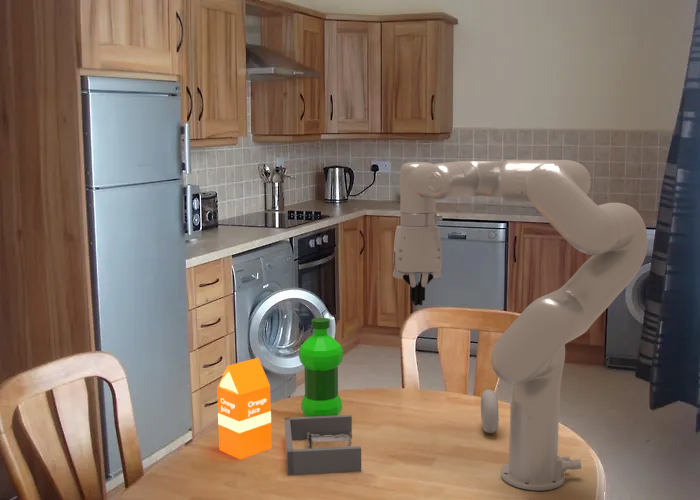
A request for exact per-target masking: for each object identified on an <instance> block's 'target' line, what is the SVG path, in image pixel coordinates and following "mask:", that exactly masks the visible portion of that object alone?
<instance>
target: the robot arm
mask: <svg viewBox="0 0 700 500" xmlns="http://www.w3.org/2000/svg"><path fill="white" fill-rule="evenodd" d="M591 179H592V178H591V175H590V173H589V170H588V169H587V168H586V166H584V165H583V164H581V163H579V162H578V161H574V160H571V159H570V160H569V159H506V160H497V161H496V160H492V161H491V160H487V161H486V160H462V161H449V162H439V163H431V162H428V161H426V162H425V161H424V162H423V161H415V162H414V161H412V162H411V161H409V162H405V163H403V164H401V167H400V180H399V181H400V186H399V187H400V194H399V195H400V197H399V198H400V203H399V204H400V209H399V211H400V218H399V219H400V223H399V224H400V225H396V228H395V233H394V239H393V242H394V243H393V254H392V255H393V257H392V258H393V259H392V265H393V272H392V277H394V278H395V279H399V280H403V281H405V282H406V283H407V285H409V300H410V302H412V304H413V306H423V301H426V287H427V285H428V284H429V283H430V282H431V281H432V280H433V279H438V278H441V277H443V271H442V270H443V269H442V267H443V253H442V251H443V250H442V239H441V234H440V229H439V225H437V223H438V222H439V221H443V214H438V213H437V210H436V209H437V207H436V206H437V205H436V204H437V203H436V202H437V201H436V200H439V201H443V200H445V201H446V200H452V199H455V198H456V199H458V198H464V197H465V198H466V197H490V198H491V197H492V198H493V197H494V198H501V199H502V200H503V201H504V203H507V204H515V205H517V204H520V205H533V207H534V208H535V209H536V210H537V211H538V213H540V214H541V215H542V217H544V219H545V220H546V221H547V222H548V223H549V224H550V225H551V226H552V227H553V228H554V229H555V230H556V231H557V232H558V233H559V234H560V235H561V236H562V237H563V238H564V239H565V241H566V242H567V243H568V244H569V245H571V246H572V247H573V248H574V249H576V250H578V251H579V252H580V253H583V254H585V255H589V256H590V257H589V258H588V259H587V260H586V261H585V262H583V264H581V266H579V268H578V269H577V270H576V271H575V273H574V274H573V275H572V276H571V277H569V279H568V280H567V281H566V283H564V284H563V285H562V286H561V287H560V288H558V289H556V290H553V291H552V292H550V293H548V294H545V295H543V296H541V297H538V298H537V299H535V300H534V301H532V302H531V303H530V304H528V305H527V307H526V308H525V309H523V311H522V312H521V313H520V314H519V315H518V317H516V319H515V320H514V321H513V322H512V323H511V325H510V326H509V327H508V328H507V329H506V330H505V331H504V332H503V333H502V334H501V336H499V338H498V339H497V341H496V342H495V344H494V345H493V347H492V351H491V356H490V361H491V363H490V364H491V366H492V369H493V373H495V375H496V376H497V377H498V379H500V380H501V381H503V382H504V383H507V384H510V385H511V390H510V402H509V404H510V407H509V409H510V412H509V444H508V445H509V449H508V450H509V453H508V462H507V463H505V464H503V465H502V466H501V469H500V476H501V478H502V480H504V482H505V483H507V484H509V485H511V486H512V487H514V488H515V487H516V488H519V489H523V490H527V491H537V492H538V491H550V490H554V489H557V488H559V487H561V486H562V485H563V484H564V483H565V477H566V475H565V472H566V471H567V470H573V471H574V470H581V469H582V462H581V460H580V459H571V456H570V455H569V456H568V455H567V456H559V454H558V449H559V447H558V446H559V427H560V426H559V425H560V424H559V420H560V418H559V417H560V403H561V402H560V401H561V399H560V398H561V397H560V396H561V387H562V386H561V385H562V376H563V373H564V372H563V370H564V367H565V366H564V365H565V361H566V345H567V344H569V342H572V341H574V340H575V339H577V338H579V337H581V336H582V335H583V334H585V333H586V332H587V331H588V330H589V329H590V327H592V326H593V324H594V322H595V321H596V320H597V319H599V317H600V316H601V315H602V314H603V313H604V312H605V311H606V309H608V307H610V306H611V304H612V303H613V302H614V300H616V298H618V296H619V295H620V294H621V293H623V292H622V291H624V290H625V288H627V286H628V285H630V283H631V282H632V280H633V279H634V278H635V277H636V275H637V274H638V272H639V271H640V268H642V266H643V263H644V261H645V259H646V255H647V252H648V251H647V250H648V244H649V242H648V240H649V239H648V232H647V227H646V225H645V221H644V220H643V218H642V216H641V214H640V213H639V212H638V210H636V209H635V208H634V207H632V206H630V205H629V204H626V203H623V202H607V203H603V204H597V203H595V201H593V199H591V197H589V196H588V193H589V192H590V189H591V185H592V183H591V182H592V180H591ZM416 274H420V275H419V279H418V280H419V281H418V282H417V283H416Z"/></svg>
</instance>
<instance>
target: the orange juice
mask: <svg viewBox="0 0 700 500" xmlns="http://www.w3.org/2000/svg"><path fill="white" fill-rule="evenodd" d="M269 382H270V381H269V380H268V377H267V375H266V372H265V370H264V368H263V365H262V363H261V360H260V358H259V357H256V358H252V359H249V360H244V361H240V362H236V363H233V364H230V365H226V369H225V371H224V373H223V375H222V377H221V379H220V382H219V384H218V386H217V387H216V389H217V412H218V413H217V420H218V421H217V422H218V423H217V424H218V439H219V442H218V447H219V451H220V452H223V453H225V454H227V455H230V456H232V457H233V458H236V459H238V460H243V459H246V458H249V457H251V456H254V455H256V454H260V453H261V452H265V451H268V450H270V449H272V411H271V409H272V408H271V385H270V383H269Z"/></svg>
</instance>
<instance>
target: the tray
mask: <svg viewBox="0 0 700 500" xmlns="http://www.w3.org/2000/svg"><path fill="white" fill-rule="evenodd" d="M352 423H353V422H352V415H351V414H343V415H342V414H339V415H336V416H314V417H306V416H297V417H296V416H294V417H284V441H285V443H284V445H285V457H286V471H287V472H286V473H287V476H295V475H301V476H302V475H317V474H335V473H337V474H338V473H352V472H353V473H355V472H357V473H358V472H362V446H361V445H355V446H349V447H348V446H339V447H338V446H337V447H334V446H333V447H317V448H316V447H315V448H314V447H313V448H312V449H309V448H297V449H295V448H293V441H308V440H309V439H308V438H307V437H308V435H307V433H308V432H309V433H310V434H311V433H312V434H313V435H314V434H318V435H320V436H324V435H333V436H336V435H340V434H344V435H348V436H350V431H351V439H352V438H353V436H352V435H353V434H352V433H353V432H352V430H353V427H352V426H353V425H352Z"/></svg>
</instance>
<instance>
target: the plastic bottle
mask: <svg viewBox="0 0 700 500" xmlns="http://www.w3.org/2000/svg"><path fill="white" fill-rule="evenodd" d="M330 322H331V321H330V319H329V318H328V317H314V318H312V319H311V328H312V329H313V334H311V336H309V337H308V338H307V339H306V340H305V341H304V342H303V343H302V344H301V345H300V347H299V349H298V357H299V362H300V364H302V366H303V367H304V396H303V397H302V400H301V403H300V407H301V411H302V413H303V414H304V417H314V416H336V415H340V413H341V412H342V409H343V401H342V399H341V397H340V396H339V369H338V368H339V367H338V366H340V364H341V363H342V362H343V358H344V349H343V347H342V345H341V344H340V343H339V342H338V341H337V340H336V339H335V338H333V336H332V335H330V334H329V333H328V329H330V327H331V326H330V324H331V323H330Z"/></svg>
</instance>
